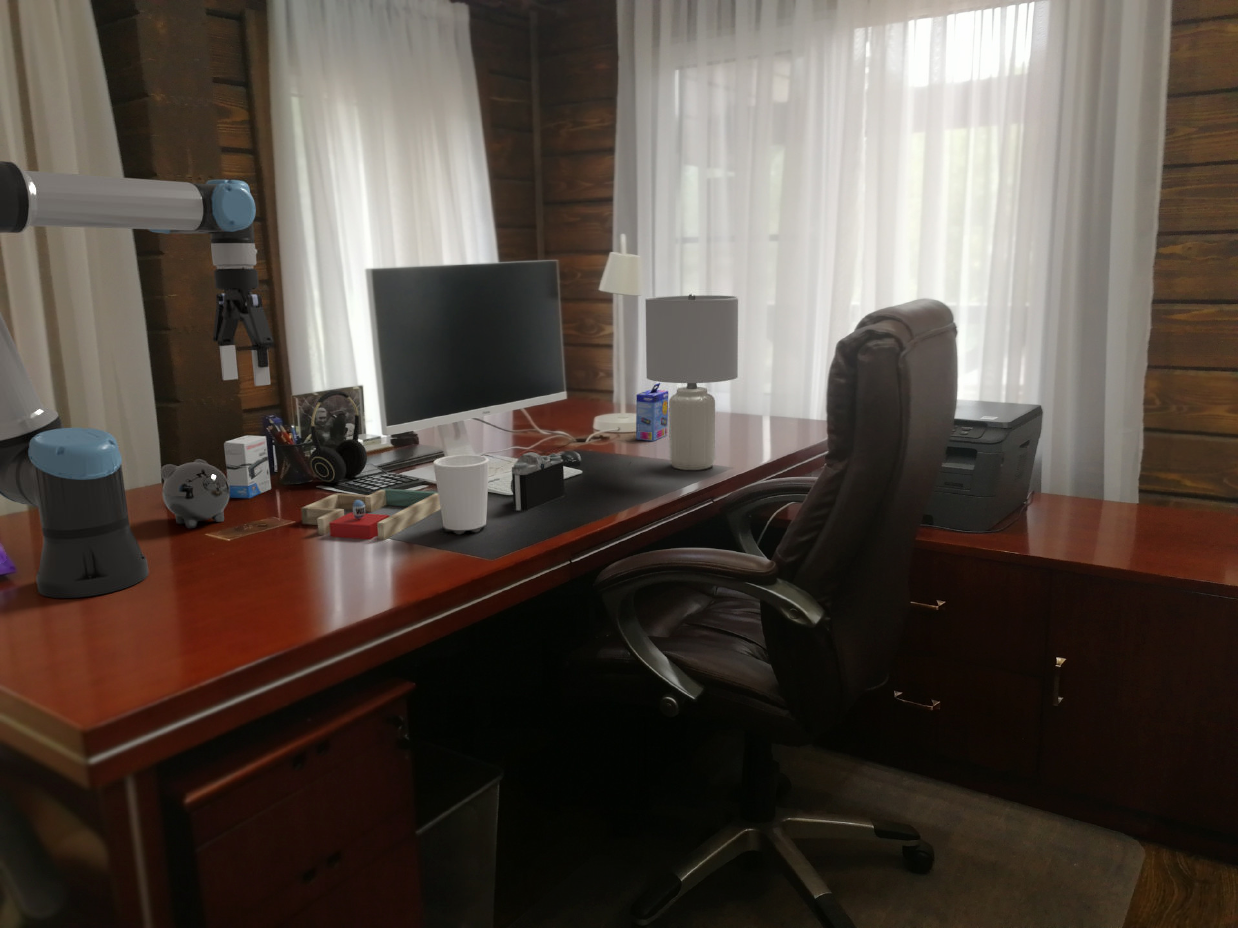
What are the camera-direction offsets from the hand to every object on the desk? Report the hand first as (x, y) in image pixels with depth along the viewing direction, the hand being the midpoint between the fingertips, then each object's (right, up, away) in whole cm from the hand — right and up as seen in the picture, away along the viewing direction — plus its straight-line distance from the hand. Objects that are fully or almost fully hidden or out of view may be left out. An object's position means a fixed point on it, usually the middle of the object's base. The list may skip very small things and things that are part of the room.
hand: (246, 382), depth 179 cm
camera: (+53, -23, +10) cm, 59 cm away
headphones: (+9, -19, +31) cm, 38 cm away
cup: (+43, -27, -8) cm, 51 cm away
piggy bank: (-9, -27, 0) cm, 28 cm away
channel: (+23, -26, 0) cm, 35 cm away
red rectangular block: (+24, -28, -9) cm, 38 cm away
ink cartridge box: (+79, -9, +72) cm, 107 cm away
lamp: (+87, -16, +38) cm, 96 cm away
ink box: (-7, -22, +21) cm, 31 cm away
